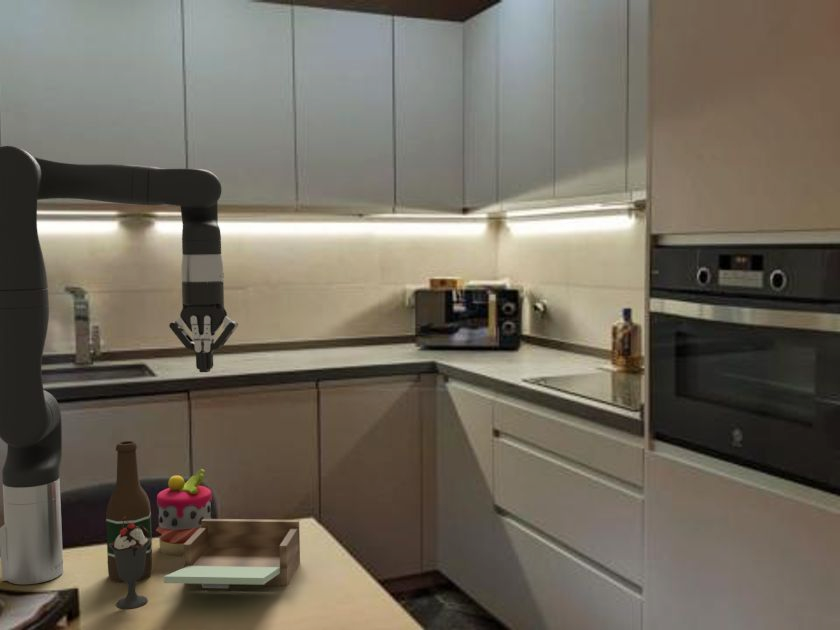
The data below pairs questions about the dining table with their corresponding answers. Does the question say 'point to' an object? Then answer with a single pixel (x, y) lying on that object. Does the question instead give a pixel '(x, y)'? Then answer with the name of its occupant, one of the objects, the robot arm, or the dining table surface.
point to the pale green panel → (222, 575)
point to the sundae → (131, 561)
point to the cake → (182, 512)
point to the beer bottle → (127, 506)
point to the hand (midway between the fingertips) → (205, 371)
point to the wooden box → (246, 546)
